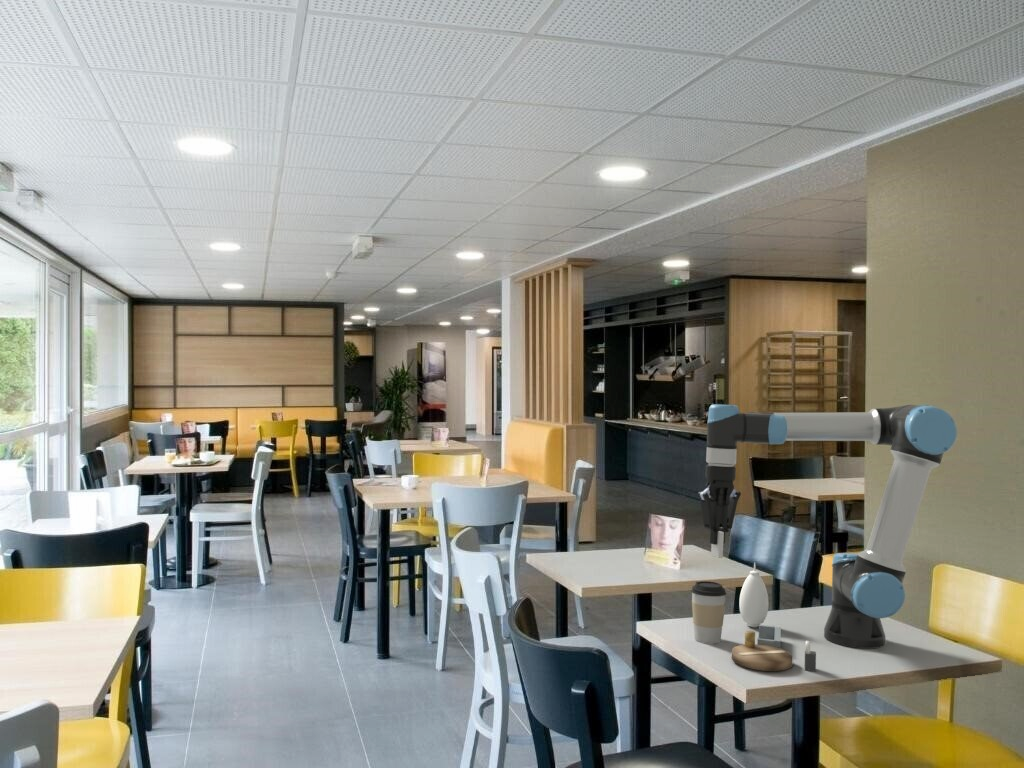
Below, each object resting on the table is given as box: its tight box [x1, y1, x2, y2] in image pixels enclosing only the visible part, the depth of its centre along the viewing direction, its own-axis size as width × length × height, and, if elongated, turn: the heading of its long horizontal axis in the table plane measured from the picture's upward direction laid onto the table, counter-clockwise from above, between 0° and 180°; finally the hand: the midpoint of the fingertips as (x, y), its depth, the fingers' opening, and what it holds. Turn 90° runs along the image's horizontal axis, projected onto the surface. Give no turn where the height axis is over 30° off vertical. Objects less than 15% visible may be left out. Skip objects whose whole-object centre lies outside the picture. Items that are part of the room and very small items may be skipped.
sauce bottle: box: [738, 562, 769, 628], centre depth 234 cm, size 8×8×18 cm
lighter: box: [804, 640, 817, 672], centre depth 198 cm, size 2×3×7 cm
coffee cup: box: [690, 580, 727, 644], centre depth 220 cm, size 9×9×15 cm
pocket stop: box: [757, 624, 782, 649], centre depth 216 cm, size 6×14×4 cm, turn 162°
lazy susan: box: [731, 630, 793, 672], centre depth 202 cm, size 14×14×5 cm
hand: (716, 556), depth 214 cm, fingers closed
